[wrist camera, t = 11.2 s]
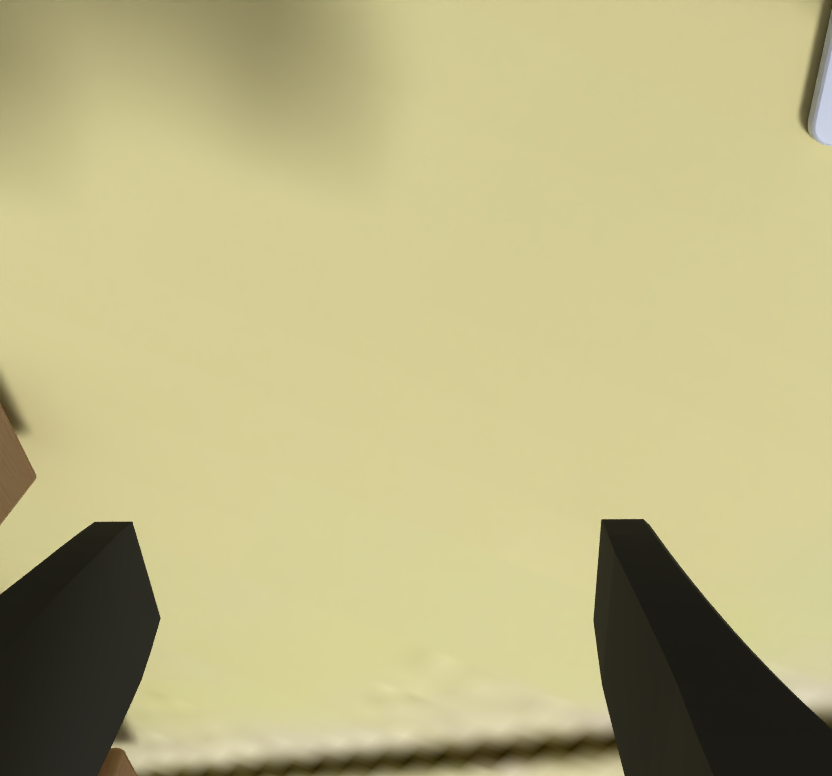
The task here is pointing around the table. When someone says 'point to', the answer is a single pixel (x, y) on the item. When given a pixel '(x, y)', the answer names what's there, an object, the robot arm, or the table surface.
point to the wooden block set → (3, 487)
